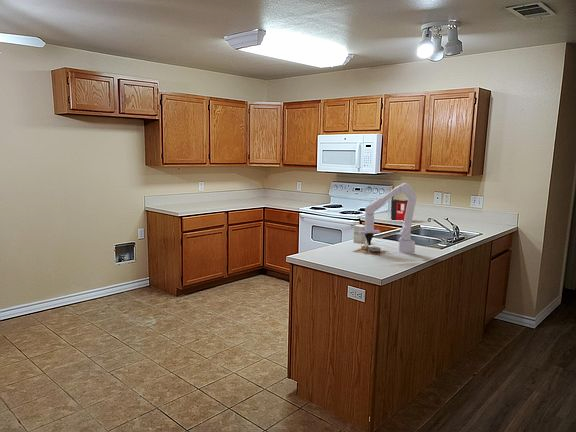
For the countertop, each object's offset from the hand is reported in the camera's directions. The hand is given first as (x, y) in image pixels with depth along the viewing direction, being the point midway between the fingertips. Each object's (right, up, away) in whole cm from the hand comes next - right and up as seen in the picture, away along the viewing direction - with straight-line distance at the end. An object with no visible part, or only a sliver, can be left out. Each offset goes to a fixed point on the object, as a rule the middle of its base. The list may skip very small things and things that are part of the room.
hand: (368, 245), depth 278 cm
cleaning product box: (+54, +13, +130) cm, 141 cm away
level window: (-5, -3, 0) cm, 6 cm away
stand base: (0, -5, -4) cm, 6 cm away
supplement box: (-1, -1, +28) cm, 28 cm away
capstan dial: (0, -3, -3) cm, 4 cm away
